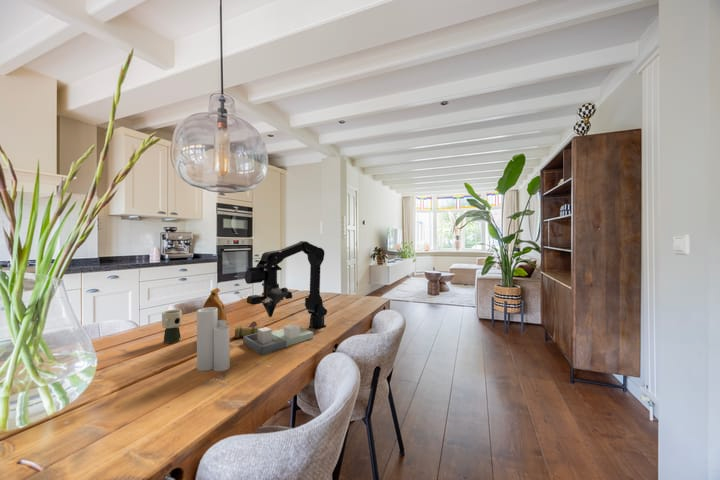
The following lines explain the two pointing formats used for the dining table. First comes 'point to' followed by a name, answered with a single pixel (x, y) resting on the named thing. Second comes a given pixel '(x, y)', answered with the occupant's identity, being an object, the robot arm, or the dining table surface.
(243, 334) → the gavel
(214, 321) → the vase
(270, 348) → the tray
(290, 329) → the light grey block
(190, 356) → the dining table surface
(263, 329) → the white square block
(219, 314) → the coffee package
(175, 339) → the character mug
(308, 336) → the board
